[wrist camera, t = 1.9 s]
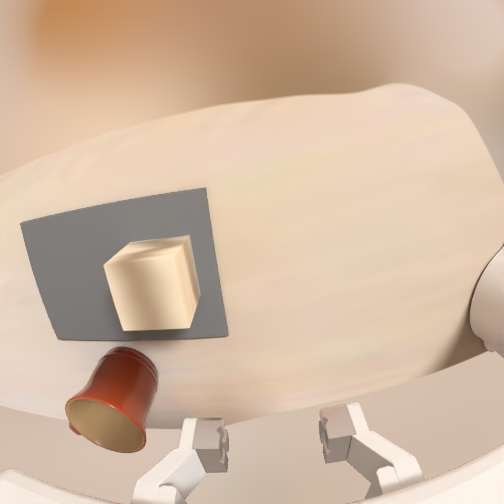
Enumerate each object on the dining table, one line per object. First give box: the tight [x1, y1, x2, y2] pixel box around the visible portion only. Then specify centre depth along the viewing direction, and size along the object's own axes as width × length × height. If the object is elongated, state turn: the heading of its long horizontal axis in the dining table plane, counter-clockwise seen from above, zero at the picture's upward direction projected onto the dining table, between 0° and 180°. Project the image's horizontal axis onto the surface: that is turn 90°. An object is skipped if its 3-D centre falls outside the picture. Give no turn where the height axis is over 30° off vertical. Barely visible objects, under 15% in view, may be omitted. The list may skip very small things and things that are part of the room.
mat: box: [20, 188, 229, 340], centre depth 29 cm, size 22×15×1 cm
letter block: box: [104, 235, 201, 331], centre depth 26 cm, size 6×6×6 cm
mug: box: [65, 347, 158, 453], centre depth 28 cm, size 12×9×10 cm
